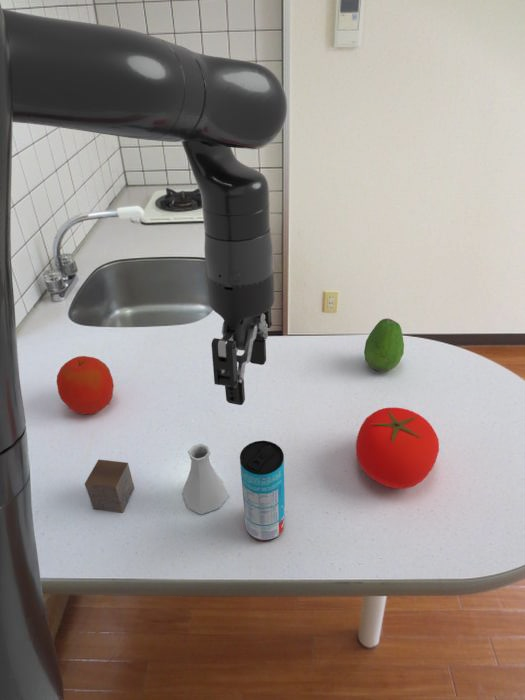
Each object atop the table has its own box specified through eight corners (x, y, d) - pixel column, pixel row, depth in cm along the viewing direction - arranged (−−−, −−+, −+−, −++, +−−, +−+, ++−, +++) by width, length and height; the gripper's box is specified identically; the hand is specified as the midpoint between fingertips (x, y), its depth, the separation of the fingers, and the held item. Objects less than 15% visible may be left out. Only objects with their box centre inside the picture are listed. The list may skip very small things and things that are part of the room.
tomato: (368, 430, 95) (373, 385, 89) (441, 452, 90) (451, 406, 84) (340, 485, 85) (344, 438, 79) (420, 514, 80) (430, 466, 74)
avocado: (398, 382, 106) (406, 332, 99) (360, 375, 108) (364, 326, 102) (402, 359, 112) (409, 311, 106) (366, 354, 115) (370, 306, 108)
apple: (128, 400, 104) (117, 353, 98) (88, 430, 98) (74, 381, 91) (94, 384, 109) (81, 337, 103) (54, 411, 102) (38, 363, 96)
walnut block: (122, 513, 82) (115, 487, 78) (93, 509, 83) (84, 483, 79) (134, 488, 86) (128, 462, 83) (106, 484, 87) (98, 459, 83)
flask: (211, 471, 88) (205, 427, 83) (237, 497, 84) (232, 453, 78) (174, 494, 85) (165, 450, 79) (199, 522, 80) (192, 477, 74)
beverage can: (293, 525, 79) (292, 454, 70) (266, 550, 76) (262, 480, 67) (264, 503, 82) (261, 434, 74) (237, 527, 79) (230, 457, 70)
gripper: (231, 239, 65) (239, 347, 74) (182, 292, 54) (198, 411, 63) (289, 245, 63) (290, 355, 72) (250, 301, 52) (257, 423, 61)
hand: (247, 381), depth 68 cm, fingers open, 8 cm apart
